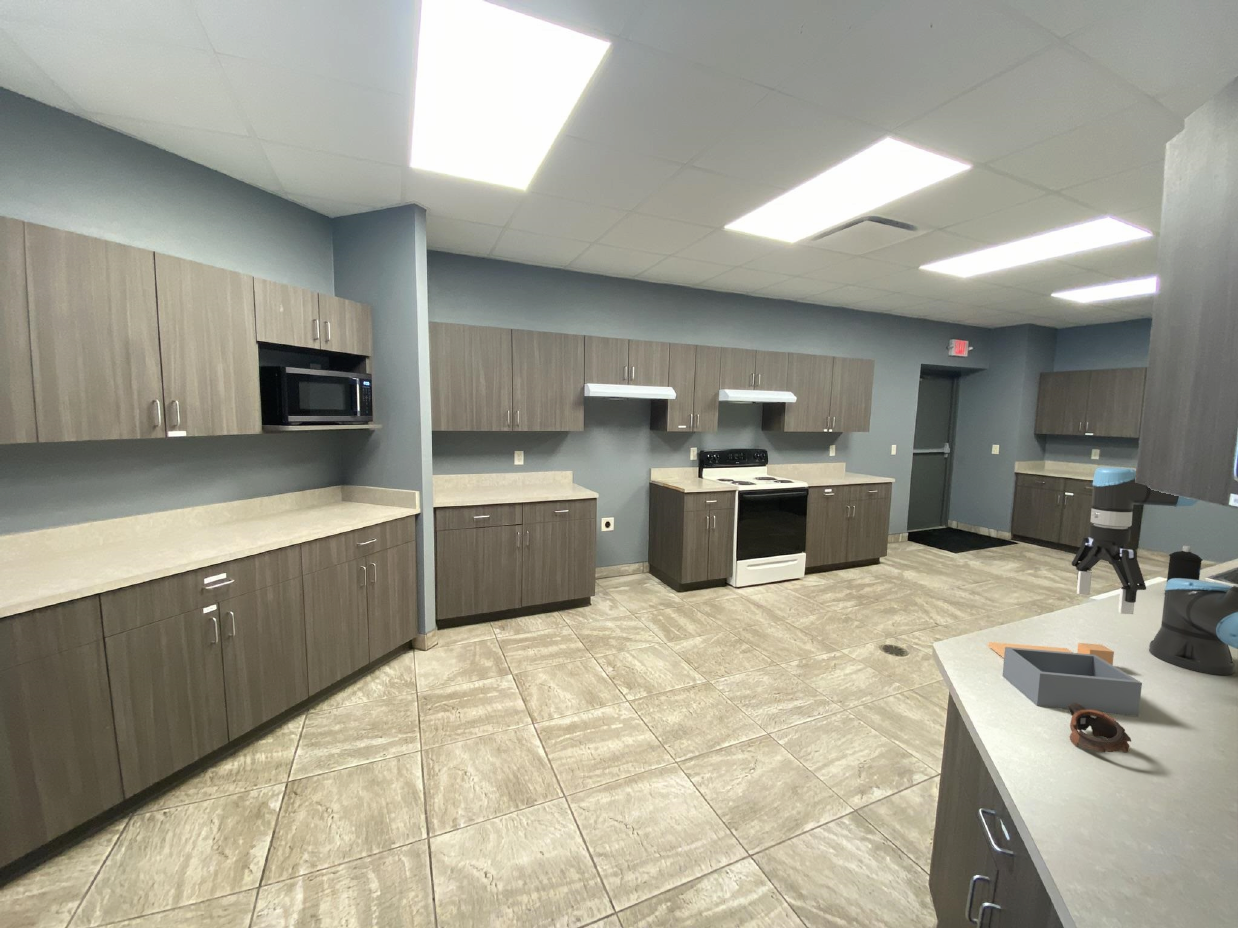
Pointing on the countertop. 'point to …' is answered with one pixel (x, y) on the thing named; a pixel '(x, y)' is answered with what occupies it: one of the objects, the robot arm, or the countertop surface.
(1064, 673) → the tub
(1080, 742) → the brown jagged ring
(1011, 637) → the countertop surface
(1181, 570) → the aerosol can
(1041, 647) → the lid
